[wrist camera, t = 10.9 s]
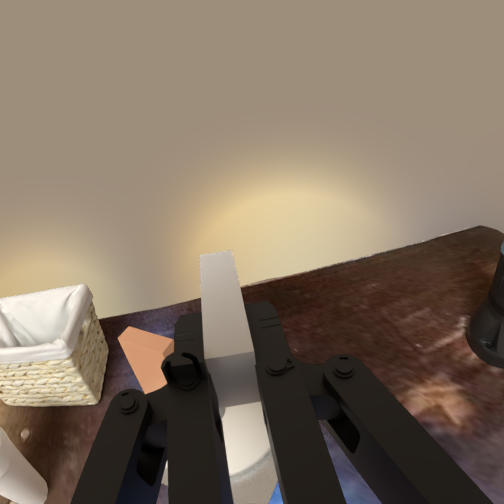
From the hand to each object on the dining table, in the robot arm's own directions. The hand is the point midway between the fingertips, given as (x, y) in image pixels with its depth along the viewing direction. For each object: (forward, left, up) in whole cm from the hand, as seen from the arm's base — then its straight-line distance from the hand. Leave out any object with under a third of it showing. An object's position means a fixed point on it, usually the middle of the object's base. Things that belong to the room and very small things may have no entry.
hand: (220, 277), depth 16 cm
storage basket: (+42, -3, -32) cm, 53 cm away
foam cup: (+29, +17, -32) cm, 46 cm away
